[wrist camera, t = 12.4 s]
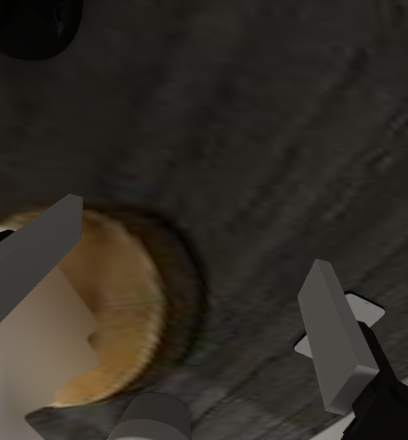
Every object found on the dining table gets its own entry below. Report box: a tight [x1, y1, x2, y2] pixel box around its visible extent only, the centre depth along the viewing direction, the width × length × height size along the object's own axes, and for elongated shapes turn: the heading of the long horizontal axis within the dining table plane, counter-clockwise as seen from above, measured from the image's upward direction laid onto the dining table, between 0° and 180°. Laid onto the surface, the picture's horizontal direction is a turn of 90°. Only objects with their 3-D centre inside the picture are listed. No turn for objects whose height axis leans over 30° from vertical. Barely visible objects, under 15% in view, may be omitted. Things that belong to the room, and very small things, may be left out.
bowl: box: [107, 392, 192, 440], centre depth 64 cm, size 19×19×11 cm
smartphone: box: [293, 291, 386, 359], centre depth 52 cm, size 8×1×16 cm
